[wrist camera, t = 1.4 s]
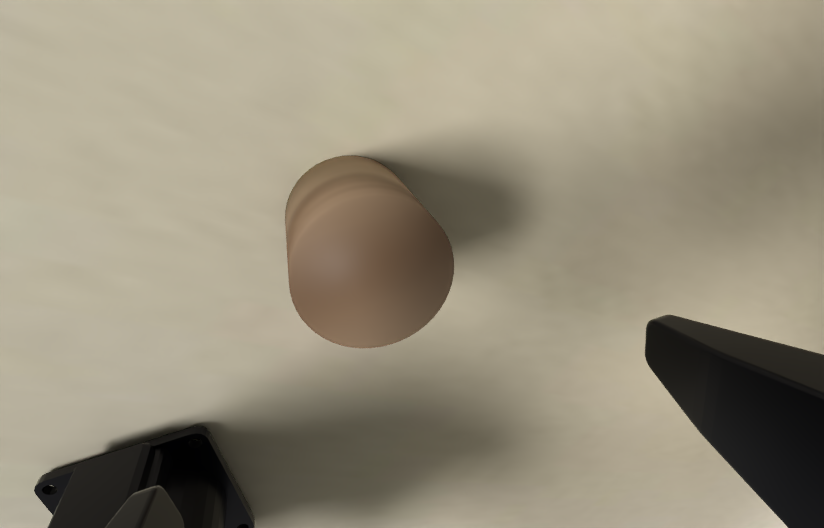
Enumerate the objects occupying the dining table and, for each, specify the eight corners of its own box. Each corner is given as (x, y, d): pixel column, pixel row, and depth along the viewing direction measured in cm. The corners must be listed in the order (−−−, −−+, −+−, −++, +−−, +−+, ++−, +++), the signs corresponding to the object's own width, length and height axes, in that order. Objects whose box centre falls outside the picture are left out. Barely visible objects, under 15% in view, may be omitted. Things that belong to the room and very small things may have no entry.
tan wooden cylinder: (420, 256, 19) (463, 321, 15) (306, 288, 18) (316, 367, 14) (397, 141, 17) (440, 178, 13) (267, 174, 16) (265, 224, 12)
